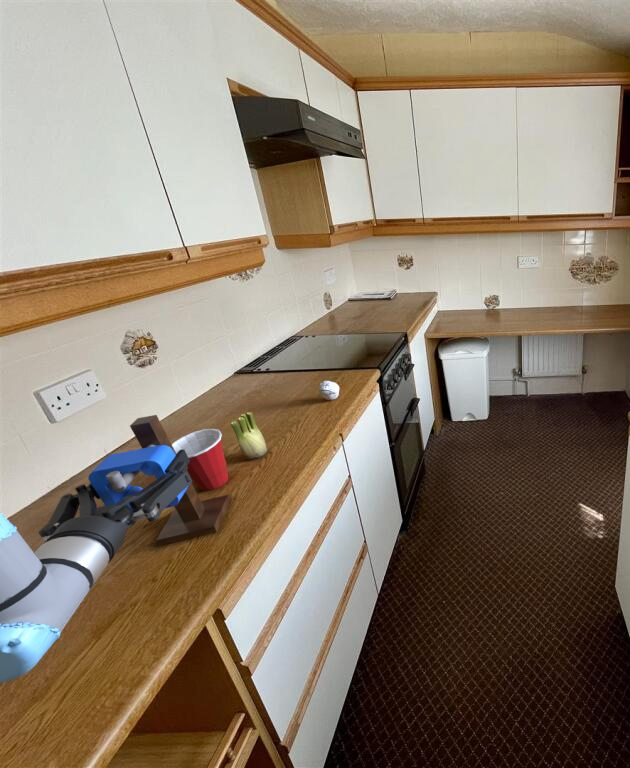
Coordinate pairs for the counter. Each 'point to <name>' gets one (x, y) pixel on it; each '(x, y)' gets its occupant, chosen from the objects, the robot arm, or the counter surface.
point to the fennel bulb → (249, 437)
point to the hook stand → (190, 511)
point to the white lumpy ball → (329, 390)
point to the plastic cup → (204, 458)
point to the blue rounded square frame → (130, 461)
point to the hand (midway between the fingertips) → (151, 462)
